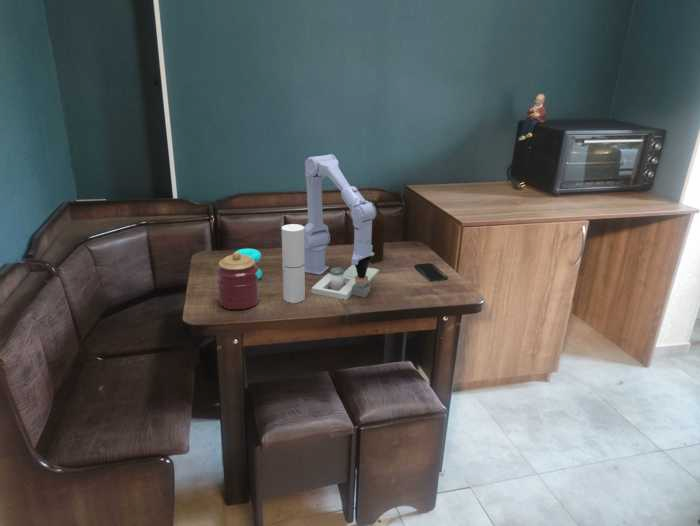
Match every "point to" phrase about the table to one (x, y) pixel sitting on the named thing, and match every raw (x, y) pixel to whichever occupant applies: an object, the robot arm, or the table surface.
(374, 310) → the table surface
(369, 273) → the mat
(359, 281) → the plunger
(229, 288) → the canister
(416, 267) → the phone
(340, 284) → the cylinder
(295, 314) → the table surface
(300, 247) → the cylindrical container
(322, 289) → the housing
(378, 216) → the olive oil
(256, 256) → the cyan rounded piece
